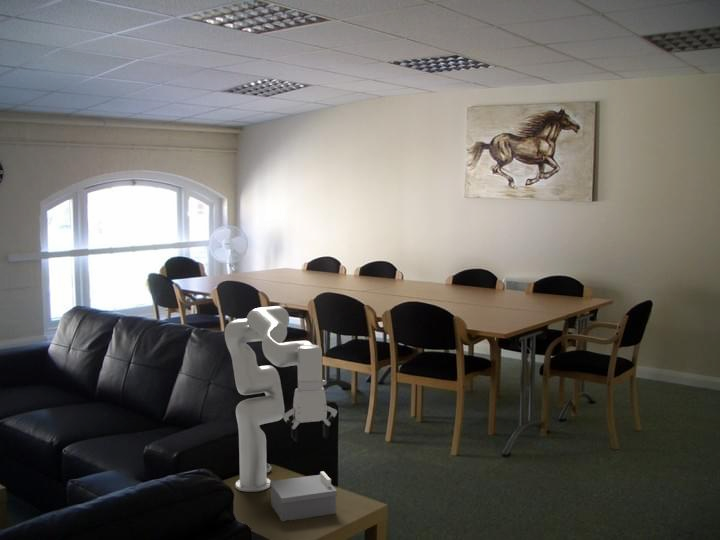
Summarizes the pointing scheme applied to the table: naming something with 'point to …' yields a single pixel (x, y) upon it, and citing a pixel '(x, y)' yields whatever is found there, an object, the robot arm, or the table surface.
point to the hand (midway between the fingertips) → (310, 438)
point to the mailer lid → (304, 488)
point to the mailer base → (303, 507)
